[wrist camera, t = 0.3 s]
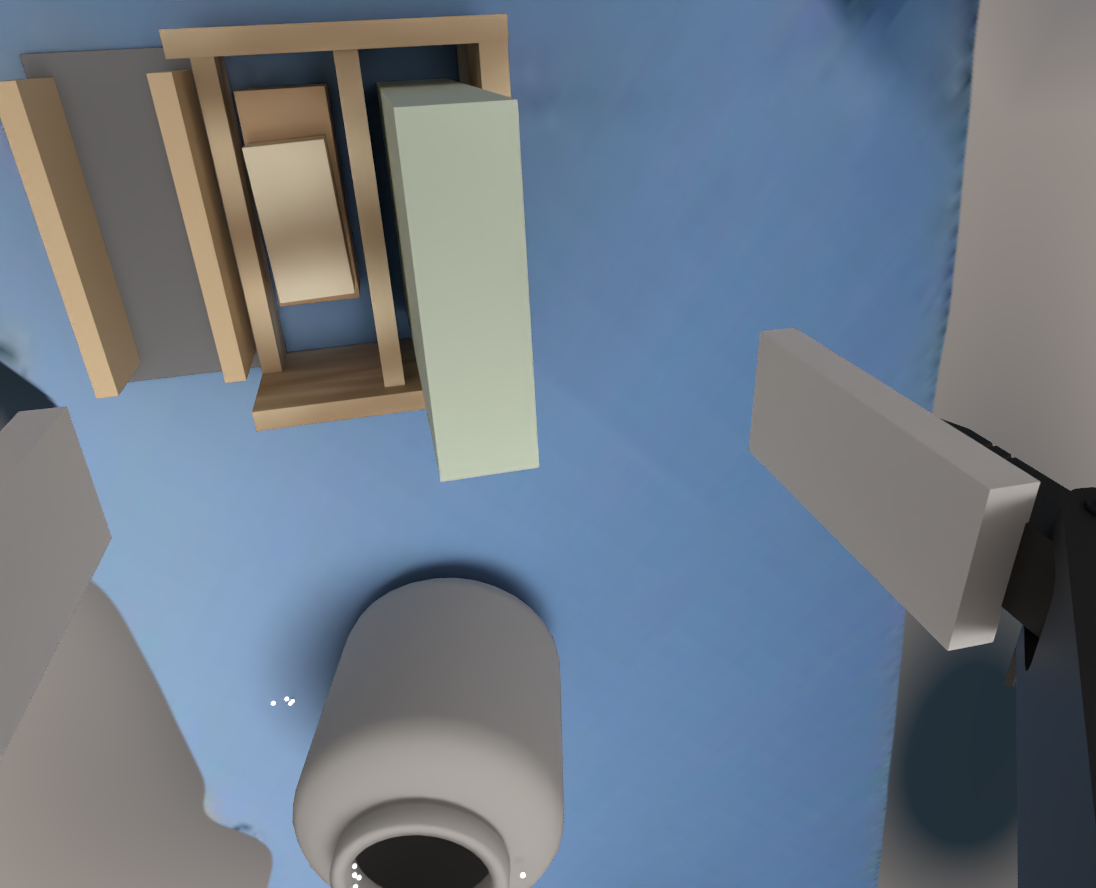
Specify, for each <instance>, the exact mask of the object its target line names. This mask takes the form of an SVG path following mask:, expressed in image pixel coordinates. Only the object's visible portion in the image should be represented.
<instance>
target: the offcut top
mask: <svg viewBox="0 0 1096 888" xmlns="http://www.w3.org/2000/svg"><path fill="white" fill-rule="evenodd" d="M242 151H243V155H244V159H245V163H246V167H247V171H248V175H249V179H250V183H251V187H252V191H253V195H254V199H255V203H256V207H257V211H258V215H259V219H260V223H261V227H262V231H263V235H264V239H265V243H266V247H267V251H268V255H269V259H270V263H271V267H272V271H273V275H274V279H275V283H276V287H277V291H278V295H279V299H280V303H287V302H294V301H301V300H308V299H315V298H323V297H330V296H337V295H344V294H351V293H355V278H354V273H353V268H352V263H351V258H350V253H349V248H348V243H347V238H346V233H345V228H344V223H343V218H342V213H341V208H340V203H339V198H338V193H337V189H336V184H335V179H334V174H333V169H332V164H331V159H330V154H329V149H328V144H327V139H326V134H323V135H313V136H304V137H295V138H286V139H276V140H267V141H258V142H249V143H248V144H246V145H245V146H244V147H243V148H242Z"/></svg>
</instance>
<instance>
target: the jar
mask: <svg viewBox="0 0 1096 888" xmlns="http://www.w3.org/2000/svg"><path fill="white" fill-rule="evenodd" d="M288 700H289V697H285V701H288ZM294 702H295V700H294V699H291V701H290V702H289V703H288V705H289V706H291V705H292V704H293V703H294ZM275 704H276V702H275V701H272V702H271V705H275ZM563 824H564V793H563V756H562V719H561V682H560V661H559V656H558V652H557V649H556V645H555V642H554V639H553V636H552V635H551V633H550V631H549V630H548V628H547V626H546V624H545V623H544V621H543V620H542V619H541V618H540V617H539V616H538V615H537V614H536V613H535V612H534V610H533V609H532V608H530V607H529V606H528V605H526V604H525V603H524V602H522V601H521V600H520V599H518V598H517V597H516V596H514V595H512V594H510V593H508V592H506V591H503V590H501V589H499V588H497V587H495V586H493V585H489V584H486V583H483V582H479V581H476V580H469V579H461V578H434V579H429V580H424V581H419V582H414V583H410V584H407V585H405V586H402V587H399V588H397V589H394V590H392V591H390V592H388V593H387V594H385V595H384V596H382V597H381V598H379V599H377V600H376V601H374V602H373V603H372V604H371V605H370V606H369V607H368V608H367V609H366V610H365V611H364V612H363V613H362V614H361V616H360V617H359V619H358V621H357V622H356V624H355V625H354V627H353V628H352V630H351V632H350V634H349V636H348V638H347V641H346V644H345V647H344V650H343V653H342V656H341V658H340V661H339V664H338V667H337V670H336V673H335V676H334V679H333V682H332V685H331V688H330V691H329V694H328V697H327V699H326V702H325V705H324V708H323V711H322V714H321V717H320V720H319V723H318V726H317V729H316V732H315V735H314V738H313V740H312V743H311V746H310V749H309V752H308V755H307V758H306V761H305V764H304V767H303V770H302V773H301V776H300V779H299V782H298V785H297V788H296V792H295V797H294V802H293V826H294V830H295V834H296V837H297V841H298V843H299V845H300V848H301V850H302V852H303V854H304V856H305V857H306V859H307V861H308V863H309V864H310V866H311V868H312V869H313V870H314V871H315V872H316V873H317V874H318V875H319V877H320V878H321V879H322V880H323V881H324V882H325V883H327V884H328V885H329V886H330V887H331V888H531V886H532V885H533V884H534V883H535V882H536V881H537V880H538V879H539V878H540V877H541V876H542V875H543V873H544V872H545V871H546V870H547V868H548V867H549V866H550V864H551V862H552V860H553V859H554V857H555V855H556V853H557V851H558V849H559V845H560V841H561V837H562V833H563Z"/></svg>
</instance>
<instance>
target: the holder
mask: <svg viewBox="0 0 1096 888" xmlns="http://www.w3.org/2000/svg"><path fill="white" fill-rule="evenodd" d="M20 58H21V61H22V64H23V67H24V70H25V73H26V76H27V79H20V80H9V81H0V117H1V120H2V123H3V126H4V129H5V132H6V135H7V138H8V141H9V144H10V147H11V150H12V153H13V155H14V158H15V161H16V164H17V167H18V170H19V173H20V176H21V179H22V182H23V185H24V188H25V191H26V193H27V196H28V199H29V202H30V205H31V208H32V211H33V214H34V217H35V220H36V223H37V226H38V229H39V232H40V234H41V237H42V240H43V243H44V246H45V249H46V252H47V255H48V258H49V261H50V264H51V267H52V270H53V272H54V275H55V278H56V281H57V284H58V287H59V290H60V293H61V296H62V299H63V302H64V305H65V308H66V310H67V313H68V316H69V319H70V322H71V325H72V328H73V331H74V334H75V337H76V340H77V343H78V346H79V348H80V351H81V354H82V357H83V360H84V363H85V366H86V369H87V372H88V375H89V378H90V381H91V384H92V386H93V389H94V392H95V395H96V398H105V397H113V396H119V394H120V393H121V392H122V390H123V389H124V387H125V386H126V384H127V383H128V382H134V381H143V380H151V379H160V378H168V377H176V376H185V375H193V374H202V373H210V372H219V371H223V375H224V379H225V383H229V382H237V381H246V380H247V377H248V374H249V371H250V368H253V367H261V364H260V360H259V355H258V351H257V347H256V342H255V338H254V334H253V329H252V325H251V321H250V316H249V312H248V308H247V303H246V299H245V295H244V290H243V286H242V282H241V277H240V273H239V269H238V264H237V260H236V256H235V251H234V247H233V243H232V238H231V234H230V230H229V225H228V221H227V217H226V212H225V208H224V204H223V199H222V195H221V191H220V186H219V182H218V178H217V174H216V169H215V165H214V161H213V156H212V152H211V148H210V143H209V139H208V135H207V130H206V126H205V122H204V117H203V113H202V109H201V104H200V100H199V96H198V91H197V87H196V83H195V78H194V74H193V70H192V65H191V61H190V58H178V59H166V57H165V53H164V49H163V47H158V48H138V49H117V50H97V51H77V52H56V53H36V54H20Z"/></svg>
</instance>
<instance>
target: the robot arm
mask: <svg viewBox="0 0 1096 888" xmlns="http://www.w3.org/2000/svg"><path fill="white" fill-rule="evenodd" d="M749 451H750V452H751V453H752V454H753V455H754V456H755V457H756V458H757V459H758V460H759V461H760V462H761V463H762V464H763V465H764V466H765V467H766V468H767V469H768V470H769V471H770V472H771V473H772V474H773V475H774V476H775V477H776V478H777V479H778V480H779V481H780V482H781V483H782V484H783V485H784V486H785V487H786V488H787V489H788V490H789V491H790V492H791V493H792V494H793V495H794V496H795V497H796V498H797V499H798V500H799V501H800V502H801V503H802V504H803V505H804V506H805V507H806V508H807V509H808V510H809V511H810V512H811V513H812V514H813V515H814V516H815V518H816V519H817V520H818V521H819V522H820V523H821V524H822V525H823V526H824V527H825V528H826V529H827V530H828V531H829V532H830V533H831V534H832V535H833V536H834V537H835V538H836V539H837V540H838V541H839V542H840V543H841V544H842V545H843V546H844V547H845V548H846V549H847V550H848V551H849V552H850V553H851V554H852V555H853V556H854V557H855V558H856V559H857V560H858V561H859V562H860V563H861V564H862V565H863V566H864V567H865V568H866V569H867V570H868V571H869V572H870V573H871V574H872V575H873V576H874V577H875V578H876V579H877V580H878V581H879V582H880V583H881V584H882V585H883V586H884V587H885V588H886V589H887V590H888V591H889V592H890V593H891V594H892V595H893V596H894V597H895V598H896V599H897V600H898V601H899V602H900V603H901V604H902V605H903V606H904V607H905V608H906V609H907V610H908V611H909V612H910V613H911V614H912V615H913V616H914V617H915V618H916V619H917V620H918V621H919V622H920V623H921V624H922V625H923V626H924V627H925V628H926V629H927V631H928V632H929V633H931V635H932V636H934V638H935V639H936V640H937V641H938V642H939V643H940V644H942V646H943V647H944V648H945V649H946V650H947V651H949V650H955V649H960V648H965V647H970V646H975V645H980V644H986V643H991V642H993V641H994V637H995V634H996V631H997V627H998V624H999V620H1000V617H1001V614H1002V610H1003V608H1004V609H1005V610H1007V611H1008V612H1009V613H1010V614H1011V615H1012V616H1013V617H1015V618H1016V619H1017V620H1018V621H1020V622H1021V623H1022V624H1023V625H1022V628H1021V632H1020V635H1019V638H1018V641H1017V644H1016V648H1015V651H1014V654H1013V657H1012V660H1011V664H1010V667H1009V670H1008V673H1007V676H1006V679H1005V683H1004V685H1005V686H1008V687H1013V685H1014V683H1015V681H1016V686H1017V687H1016V692H1017V693H1016V695H1017V696H1016V697H1017V822H1018V823H1017V826H1018V827H1017V831H1018V832H1017V833H1018V888H1096V488H1093V487H1091V488H1080V489H1074V490H1072V491H1070V490H1068V489H1066V488H1064V487H1063V486H1061V485H1060V484H1058V483H1057V482H1055V481H1053V480H1052V479H1050V478H1048V477H1047V476H1045V475H1043V474H1042V473H1040V472H1039V471H1037V470H1035V469H1034V468H1032V467H1030V466H1029V465H1027V464H1025V463H1024V462H1022V461H1020V460H1019V459H1017V458H1011V454H1009V453H1007V452H1006V451H1004V450H1002V449H1001V448H999V447H998V446H992V443H991V442H990V441H988V440H986V439H985V438H983V437H981V436H980V435H978V434H977V433H975V432H973V431H972V430H970V429H968V428H965V427H962V426H959V425H957V424H954V423H951V422H948V421H945V420H943V419H940V418H938V417H936V416H935V415H933V414H932V413H930V412H928V411H927V410H925V409H924V408H922V407H920V406H919V405H917V404H916V403H914V402H913V401H911V400H909V399H908V398H906V397H905V396H903V395H901V394H900V393H898V392H897V391H895V390H893V389H892V388H890V387H889V386H887V385H885V384H884V383H882V382H881V381H879V380H877V379H876V378H874V377H873V376H871V375H869V374H868V373H866V372H865V371H863V370H861V369H860V368H858V367H857V366H855V365H853V364H852V363H850V362H849V361H847V360H845V359H844V358H842V357H841V356H839V355H837V354H836V353H834V352H833V351H831V350H829V349H828V348H826V347H825V346H823V345H821V344H820V343H818V342H817V341H815V340H813V339H812V338H810V337H809V336H807V335H805V334H804V333H802V332H801V331H799V330H797V329H796V328H787V329H778V330H768V331H760V340H759V350H758V360H757V371H756V381H755V391H754V402H753V412H752V422H751V432H750V443H749ZM111 538H112V537H111V534H110V531H109V528H108V525H107V522H106V519H105V516H104V513H103V511H102V508H101V505H100V502H99V499H98V496H97V493H96V490H95V487H94V484H93V481H92V479H91V476H90V473H89V470H88V467H87V464H86V461H85V458H84V455H83V452H82V449H81V447H80V444H79V441H78V438H77V435H76V432H75V429H74V426H73V423H72V420H71V417H70V415H69V412H68V409H67V407H58V408H50V409H41V410H30V411H21V412H18V413H17V414H16V415H15V416H14V418H13V419H12V420H11V421H10V422H9V423H8V424H7V425H6V426H5V427H4V428H3V429H2V430H1V431H0V761H1V759H2V757H3V755H4V753H5V751H6V749H7V747H8V745H9V743H10V741H11V739H12V737H13V735H14V733H15V731H16V729H17V727H18V725H19V723H20V721H21V719H22V717H23V715H24V713H25V711H26V709H27V707H28V705H29V703H30V700H31V699H32V696H33V695H34V693H35V691H36V689H37V687H38V685H39V683H40V681H41V679H42V677H43V675H44V672H45V671H46V669H47V667H48V665H49V663H50V660H51V659H52V656H53V655H54V653H55V651H56V649H57V647H58V645H59V643H60V641H61V639H62V637H63V634H64V633H65V631H66V628H67V627H68V625H69V623H70V620H71V619H72V617H73V615H74V613H75V611H76V609H77V606H78V605H79V603H80V601H81V598H82V597H83V594H84V593H85V591H86V588H87V587H88V585H89V583H90V581H91V579H92V577H93V575H94V573H95V571H96V569H97V567H98V565H99V562H100V560H101V558H102V556H103V554H104V552H105V550H106V548H107V546H108V544H109V542H110V540H111Z"/></svg>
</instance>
